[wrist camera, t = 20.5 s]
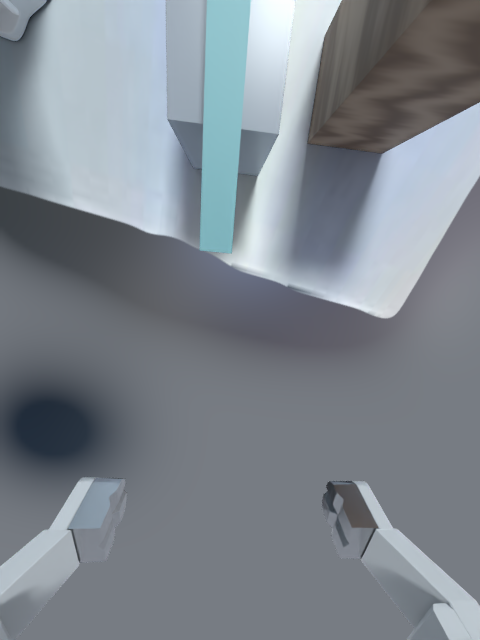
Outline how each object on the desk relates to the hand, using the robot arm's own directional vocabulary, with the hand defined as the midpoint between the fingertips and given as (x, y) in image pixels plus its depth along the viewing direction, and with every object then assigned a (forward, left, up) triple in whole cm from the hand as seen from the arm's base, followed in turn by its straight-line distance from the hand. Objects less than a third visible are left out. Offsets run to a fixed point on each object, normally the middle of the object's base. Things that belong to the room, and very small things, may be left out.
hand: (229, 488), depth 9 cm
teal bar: (-2, +21, -19) cm, 28 cm away
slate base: (-2, +25, -35) cm, 43 cm away
